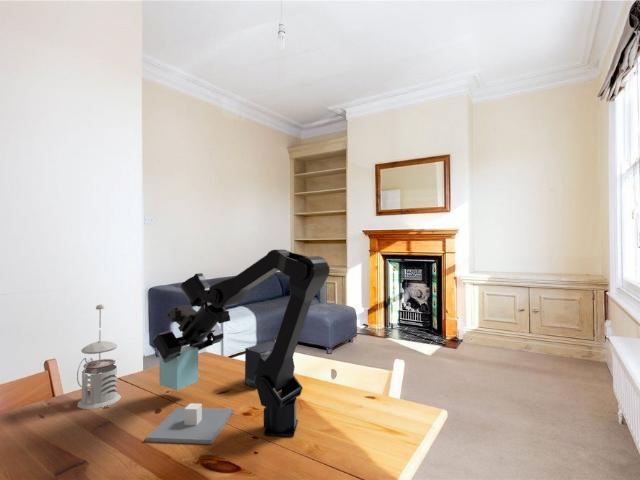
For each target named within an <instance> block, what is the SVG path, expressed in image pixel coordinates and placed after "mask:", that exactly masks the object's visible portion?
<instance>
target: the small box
mask: <svg viewBox="0 0 640 480" xmlns="http://www.w3.org/2000/svg"><path fill="white" fill-rule="evenodd" d="M274 344H275V341H271V340H269V341H266V342H263V343H260V344H256V345H253V346H249V347H245V349H244V351H245V355H244V359H245V360H244V385H247V386H250V387H252V388H256V389H257V387H256V385H255V377H256V375H254V373H255V371H256V370H257V366H258V361H259V359H260V358H261V357H263V356H266V355H268V354H270V353H271V352H272V350H273V347H274Z"/></svg>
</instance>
